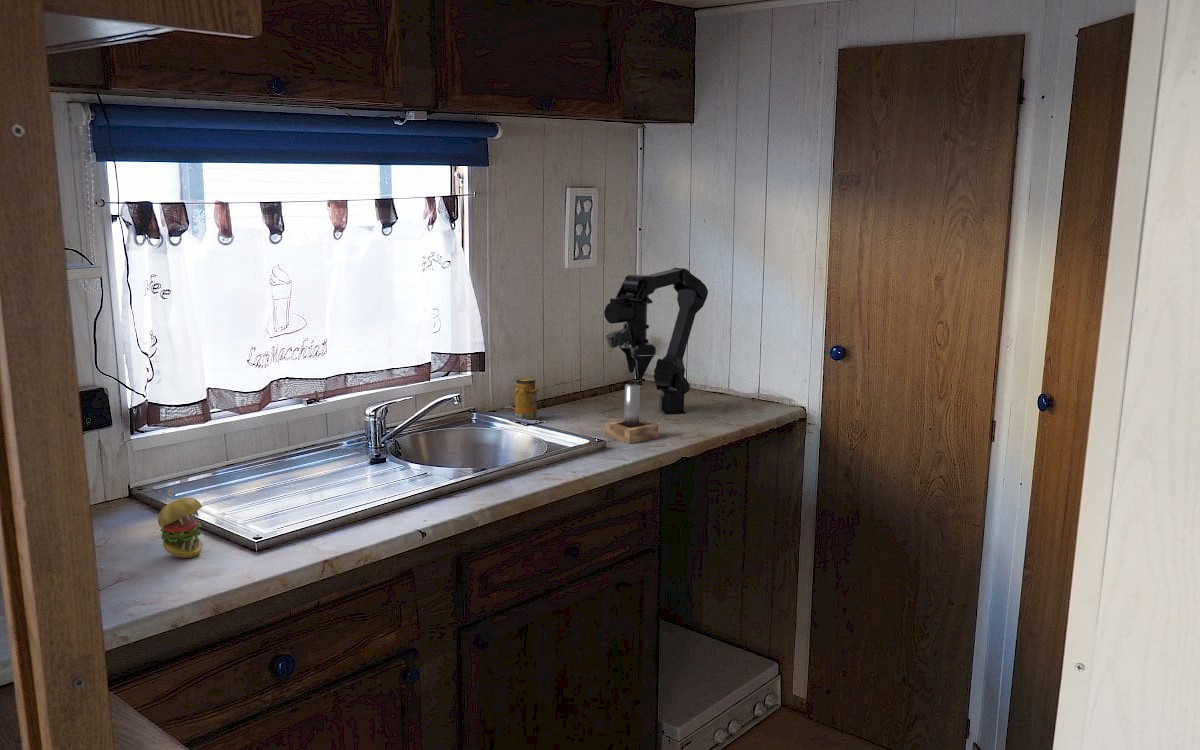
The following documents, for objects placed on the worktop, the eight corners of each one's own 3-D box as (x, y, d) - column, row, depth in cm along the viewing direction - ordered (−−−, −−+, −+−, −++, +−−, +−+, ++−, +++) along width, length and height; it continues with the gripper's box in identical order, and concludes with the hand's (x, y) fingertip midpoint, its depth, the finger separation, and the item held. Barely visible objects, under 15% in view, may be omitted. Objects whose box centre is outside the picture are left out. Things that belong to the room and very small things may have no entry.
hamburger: (188, 564, 179) (184, 498, 176) (151, 561, 180) (146, 495, 178) (213, 549, 186) (209, 485, 184) (177, 546, 187) (172, 483, 185)
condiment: (529, 417, 293) (528, 376, 291) (546, 422, 286) (546, 380, 284) (507, 420, 288) (507, 378, 286) (525, 426, 282) (525, 383, 280)
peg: (633, 434, 274) (635, 383, 271) (641, 437, 270) (643, 385, 268) (621, 436, 272) (622, 384, 269) (628, 439, 268) (629, 387, 266)
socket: (633, 430, 278) (633, 418, 277) (658, 438, 270) (658, 425, 270) (604, 436, 272) (605, 423, 271) (629, 443, 264) (629, 430, 264)
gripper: (600, 316, 291) (599, 370, 294) (617, 325, 274) (616, 382, 276) (638, 315, 294) (636, 369, 297) (657, 324, 276) (655, 381, 279)
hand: (635, 375), depth 287 cm, fingers open, 9 cm apart
